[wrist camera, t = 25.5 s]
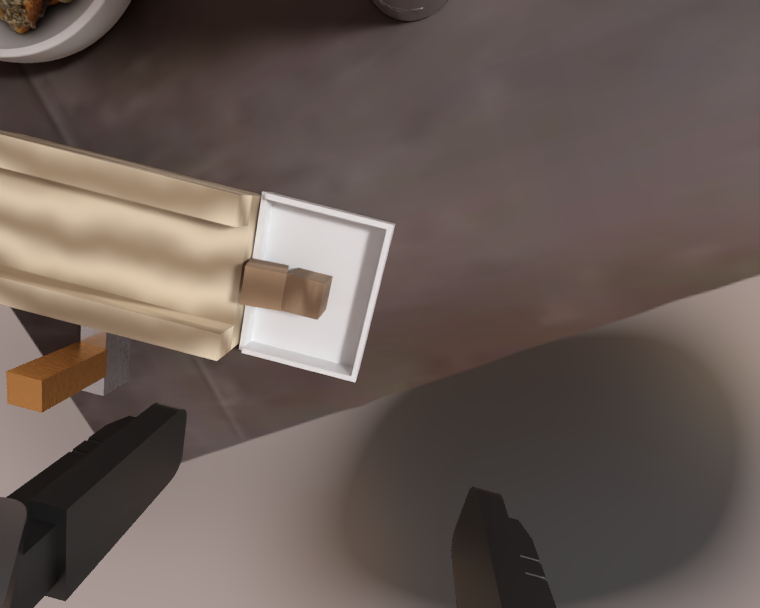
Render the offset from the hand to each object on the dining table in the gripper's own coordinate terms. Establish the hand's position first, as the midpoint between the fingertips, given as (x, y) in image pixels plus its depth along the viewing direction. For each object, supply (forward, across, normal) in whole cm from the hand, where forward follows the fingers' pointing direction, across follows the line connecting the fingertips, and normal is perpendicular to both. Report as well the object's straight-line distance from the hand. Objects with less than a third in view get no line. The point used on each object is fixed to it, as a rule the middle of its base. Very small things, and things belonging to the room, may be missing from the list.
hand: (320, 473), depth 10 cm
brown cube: (+30, +10, +4) cm, 32 cm away
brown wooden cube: (+31, +13, +4) cm, 34 cm away
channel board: (+33, +29, +4) cm, 44 cm away
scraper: (+33, +31, +18) cm, 49 cm away
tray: (+33, +8, +4) cm, 34 cm away
